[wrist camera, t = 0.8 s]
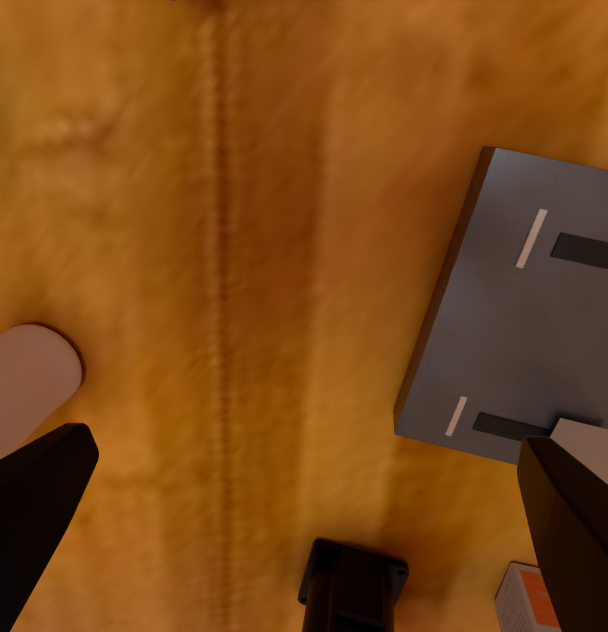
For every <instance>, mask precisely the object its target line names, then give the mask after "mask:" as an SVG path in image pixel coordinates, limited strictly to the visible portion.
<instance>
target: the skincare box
mask: <svg viewBox="0 0 608 632" xmlns="http://www.w3.org/2000/svg"><path fill="white" fill-rule="evenodd" d="M495 607H496V612H497V616H498V620H499V624H500V628H501V632H562V631H561V628H560V626H559V623H558V620H557V617H556V614H555V612H554V609H553V606H552V603H551V600H550V597H549V595H548V592H547V589H546V586H545V583H544V581H543V578H542V575H541V571H540V568H537V567H532V566H527V565H523V564H519V563H510V565H509V568H508V571H507V573H506V576H505V578H504V580H503V583H502V585H501V588H500V590H499V592H498V595H497V597H496V599H495Z"/></svg>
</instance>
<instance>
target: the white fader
mask: <svg viewBox="0 0 608 632" xmlns="http://www.w3.org/2000/svg"><path fill="white" fill-rule="evenodd" d="M550 438H551V439H553V440H554V441H555V442H556V443H558V444H559V445H560V446H561V447H563V448H564V449H565V450H566V451H568V452H569V453H570V454H571V455H572V456H574V457H575V458H576V459H577V460H579V461H580V462H581V463H582V464H583V465H585V466H586V467H587V468H588V469H590V470H591V471H592V472H593V473H595V474H596V475H597V476H598V477H599V478H601V479H602V480H603V481H604V482H606V483H607V484H608V429H604V428H600V427H596V426H592V425H587V424H583V423H579V422H575V421H571V420H567V419H563V418H560V420H559V422H558V423H557V425H556V427H555V429H554V431H553V432H552V434H551V436H550Z"/></svg>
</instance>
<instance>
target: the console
mask: <svg viewBox="0 0 608 632" xmlns="http://www.w3.org/2000/svg"><path fill="white" fill-rule="evenodd" d="M393 416H394V432H395V434H396V435H399V436H403V437H407V438H411V439H415V440H419V441H423V442H427V443H431V444H435V445H439V446H443V447H447V448H451V449H455V450H459V451H463V452H467V453H471V454H475V455H479V456H483V457H487V458H491V459H495V460H499V461H503V462H507V463H511V464H515V465H518V461H519V455H520V450H521V444H522V440H523V438H524V437H526V436H547V437H549V438H550V436H551V434H552V432H553V431H554V429H555V427H556V425H557V423H558V422H559V420H560V418H563V419H567V420H571V421H575V422H579V423H583V424H587V425H592V426H596V427H600V428H604V429H608V170H604V169H599V168H594V167H589V166H584V165H579V164H574V163H569V162H564V161H559V160H555V159H550V158H545V157H540V156H535V155H530V154H525V153H520V152H515V151H510V150H506V149H501V148H496V147H488V146H484V147H483V149H482V152H481V155H480V158H479V161H478V164H477V167H476V170H475V173H474V176H473V179H472V182H471V185H470V188H469V190H468V193H467V196H466V199H465V202H464V205H463V208H462V211H461V214H460V217H459V220H458V223H457V226H456V229H455V231H454V234H453V237H452V240H451V243H450V246H449V249H448V252H447V255H446V258H445V261H444V264H443V267H442V270H441V272H440V275H439V278H438V281H437V284H436V287H435V290H434V293H433V296H432V299H431V302H430V305H429V308H428V311H427V313H426V316H425V319H424V322H423V325H422V328H421V331H420V334H419V337H418V340H417V343H416V346H415V349H414V351H413V354H412V357H411V360H410V363H409V366H408V369H407V372H406V375H405V378H404V381H403V384H402V387H401V390H400V392H399V395H398V398H397V401H396V404H395V407H394V410H393Z"/></svg>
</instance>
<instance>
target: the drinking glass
mask: <svg viewBox="0 0 608 632" xmlns="http://www.w3.org/2000/svg"><path fill="white" fill-rule="evenodd" d="M81 380H82V367H81V363H80V360H79V358H78V355H77V354H76V352H75V350H74V349H73V347H72V346H71V345H70V344H69V343H68V342H67V341H66V340H65V339H64V338H63V337H62V336H60V335H59V334H57V333H56V332H54V331H52V330H50V329H48V328H46V327H43V326H39V325H32V324H24V325H18V326H15V327H12V328H9V329H7V330H6V331H4V332H2V333H0V459H2V458H3V457H5V456H7V455H9V454H11V453H12V452H14V451H16V450H18V449H19V448H20V447H21V446H22V445H23V444H24V443H25V442H26V441H27V440H28V439H29V438H30V437H31V436H32V435H33V434H34V433H35V432H36V431H37V429H38V428H39V427H40V426H41V425H42V424H43V423H44V422H45V421H46V420H47V419H48V418H49V417H50V416H51V415H52V414H53V413H54V412H55V411H56V410H57V409H58V408H60V407H61V406H62V405H63V404H64V403H65V402H66V401H68V400H69V399H70V398H71V397H72V396H73V395H74V394H75V393H76V391H77V390H78V388H79V386H80V383H81Z"/></svg>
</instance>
